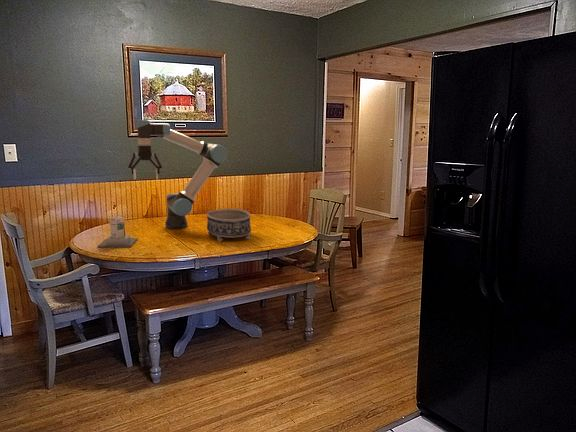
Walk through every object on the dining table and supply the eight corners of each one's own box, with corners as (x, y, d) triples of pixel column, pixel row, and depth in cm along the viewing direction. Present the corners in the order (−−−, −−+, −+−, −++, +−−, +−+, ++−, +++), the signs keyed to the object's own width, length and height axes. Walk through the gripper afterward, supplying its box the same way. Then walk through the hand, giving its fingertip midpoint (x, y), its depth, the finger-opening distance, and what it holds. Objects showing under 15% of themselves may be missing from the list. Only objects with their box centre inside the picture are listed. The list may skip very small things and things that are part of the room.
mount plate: (137, 239, 268) (137, 233, 267) (130, 247, 250) (130, 240, 249) (106, 240, 266) (106, 233, 265) (97, 247, 248) (97, 240, 247)
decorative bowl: (260, 242, 267) (260, 217, 265) (216, 246, 257) (216, 220, 254) (238, 228, 306) (238, 206, 303) (200, 230, 295) (199, 208, 292)
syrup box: (117, 243, 254) (116, 218, 251) (110, 241, 257) (109, 217, 254) (125, 241, 259) (124, 216, 256) (119, 240, 262) (117, 215, 259)
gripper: (122, 145, 269) (124, 179, 273) (164, 145, 272) (165, 180, 276) (125, 144, 277) (126, 178, 281) (166, 145, 279) (167, 178, 283)
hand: (146, 179), depth 278 cm, fingers open, 13 cm apart
